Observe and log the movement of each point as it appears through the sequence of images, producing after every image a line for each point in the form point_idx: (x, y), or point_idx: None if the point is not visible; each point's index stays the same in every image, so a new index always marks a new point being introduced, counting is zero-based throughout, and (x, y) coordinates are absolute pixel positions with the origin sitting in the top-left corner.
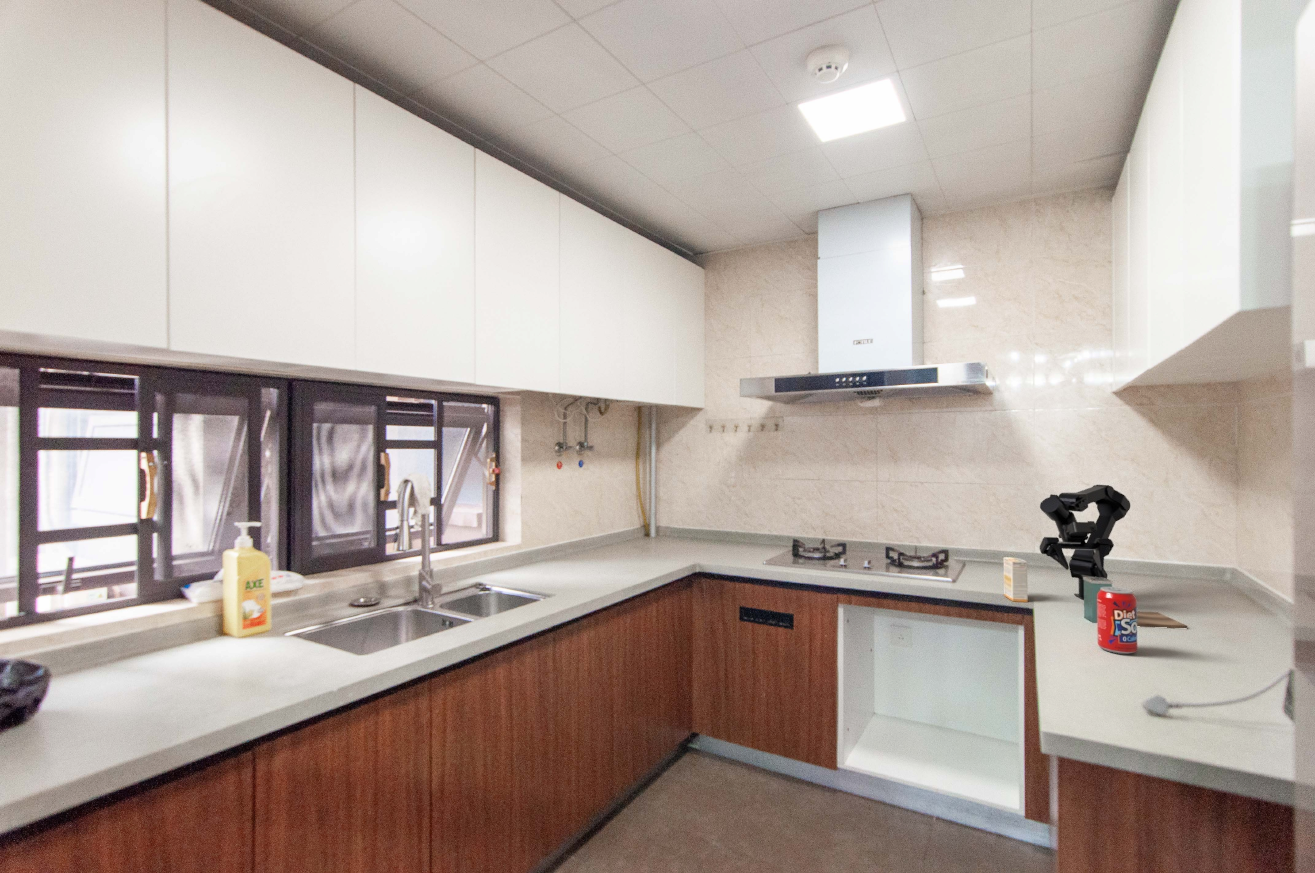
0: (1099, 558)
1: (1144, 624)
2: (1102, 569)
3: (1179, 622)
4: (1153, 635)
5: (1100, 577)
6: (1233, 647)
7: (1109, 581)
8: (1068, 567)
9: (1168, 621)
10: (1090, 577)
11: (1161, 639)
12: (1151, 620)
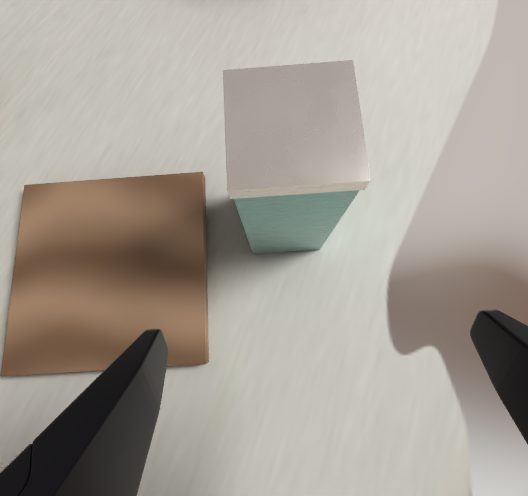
0: (87, 458)
1: (156, 176)
2: (158, 331)
3: (22, 223)
4: (185, 88)
5: (249, 181)
6: (36, 34)
7: (241, 71)
8: (485, 312)
9: (53, 227)
10: (325, 161)
11: (184, 55)
12: (106, 225)
